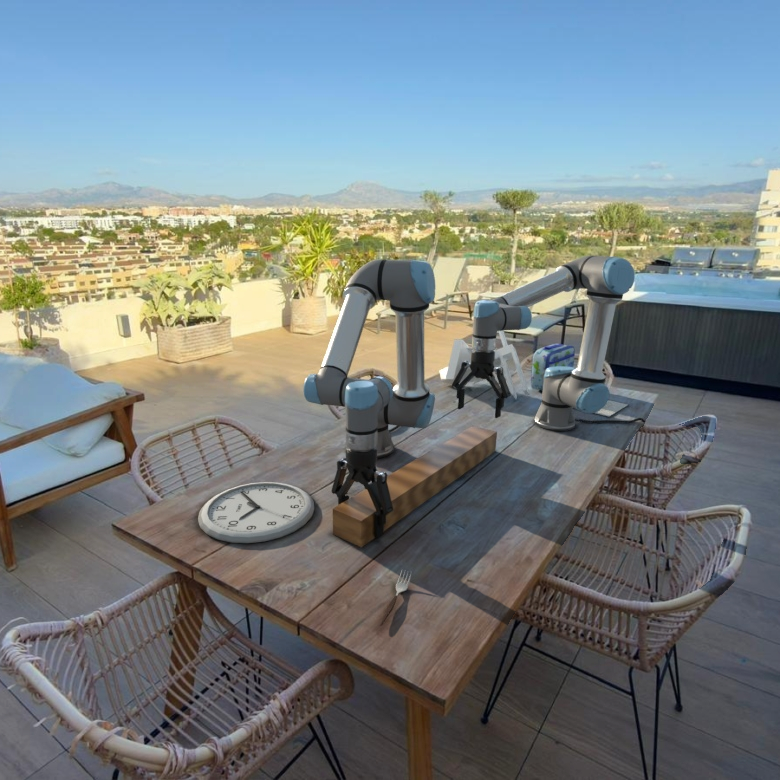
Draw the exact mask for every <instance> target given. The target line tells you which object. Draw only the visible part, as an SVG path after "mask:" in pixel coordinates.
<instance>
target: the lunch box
mask: <svg viewBox="0 0 780 780" xmlns="http://www.w3.org/2000/svg"><path fill="white" fill-rule="evenodd" d="M575 352H576V351H575V346H573V345H568V344H562V343H553V344H550V345H547V346H546V345H545V346H544V347H541V348H538V349H537V350H536V351H535V352H534V354H533V357H532V362H531V371H530V372H531V374H530V387H531V389H533V390H539V391H543V380H544V374H545V370H546V369H547V368H549V367H556V366H566V367H574V363H575Z"/></svg>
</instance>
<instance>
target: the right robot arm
mask: <svg viewBox="0 0 780 780" xmlns="http://www.w3.org/2000/svg"><path fill="white" fill-rule="evenodd" d="M635 278H636V277H635V270H634V267H633V265H632V263H631V262H630V261H628V259H626V258H623V257H617V256H606V255H605V256H603V255H595V254H594V255H593V254H591V255H585V256H582V257H579V258H576V259H573V260H571V261H569V262H566V263H564V264H562V265H560V266H557V268H556V269H555V271H553V272H551V273H549V274H547V275H544V276H542V277H540V278H538V279H536V280H534V281H531V282H529V283H527V284H524V285H522V286H520V287H518V288H516V289H513V290H511V291H509V292H506V293H505V294H502V295H500V296H498V297H495V298H494V299H482V300H478V301H476V302H475V304H474V308H473V314H472V317H473V318H472V320H473V322H472V337H471V347H472V349H473V350H472V351H471V363H469V362H468V361H464V362H462V365H461V369H460V371H459V373H458V374H457V376H456V378H455V380H454V382H453V383H452V384H451V387H452V388H455V389H456V399H458V401H457V410H461V409H463V408H465V397H466V396H465V394H466V388H464V387H465V386H466V385H468V384H469V383H470V382H469V381H470V380H471V379H472V378H473V377H474V376H475V377H476V378H481V379H483V380H486V381H487V382H488V383H489V385H490V386H491V388H492V389H493V391H494V393H495V394H496V396H497V397H496V398H495V409H494V418H495V419H498V418H500V417H501V414H502V409H503V408H504V407H505V399H508V398H510V397H511V396H512V394H511V392H510V390H509V387H508V384H507V380H506V377H505V373H504V370H503V367H502V366H499V367H497V368H495V367H494V360H495V351H494V350H497V349H496V347H497V334H498V332H499V331H504V332H505V331H520V330H526V329H528V328H529V327H530V326H531V324H532V319H533V315H532V314H533V313H532V311H531V309H530V308H529V307H531V306H534V305H536V304H539V303H541V302H543V301H545V300H547V299H549V298H551V297H554V296H556V295H558V294H561V293H562V292H565V293H569V292H572V291H574V290H577V289H578V290H582V289H583V290H585V289H586V294H585V296H586V297H587V299H588V300H589V303H588V308H587V314H586V318H585V324H584V329H583V333H582V338H581V344H580V348H579V355H578V358H577V365H576V367H574V366H573V367H566V366H556V367H549V368H547V369H546V370H545V374H544V380H543V390H541V391H542V392H541V402H540V405H539V407H538V410H537V411H536V413H535V416H534V424H535V425H536V426H537V427H539V428H542V429H544V430H549V431H556V432H567V431H572V430H574V429H575V428H576V422H579V423H586V424H601V423H603V424H605V423H610V424H613V423H614V424H632V423H636V422H639V421H641V422H643V423H646V420H645V419H644V418H642V417H637V418H634V419H631V420H621V419H620V420H616V419H600V420H598V419H597V420H589V419H587V420H586V419H581V418H575V417H576V416H575V413H574V409H575V410H577V411H579V412H581V413H585V414H589V415H590V414H591V415H593V414H596V412H598V411H599V410H601V408H603V407H604V406H605V405H606V403H607V401H608V400H609V399H610V395H611V394H610V389H609V387H608V386H607V385H606V384H605V382H606V379H607V378H606V375H605V374H604V373H603V371H604V365H605V360H606V355H607V350H608V345H609V341H610V336H611V330H612V326H613V322H614V316H615V312H616V308H617V304H618V303H620V302H621V301H622V300H623V297H624V294H626V293H628V292H629V291H630V289H632V287H633V286H634V283H635ZM469 367H470V369H471V371H472V372H471V373H470V374H469V375H468V376H467V377H466V378H465V379H464V380H463V381H462V382H461V383H460V381H461V379H462V377H463V376H464V374H465V372H466V370H467V368H469ZM494 373H495V375H496V376H495V375H494ZM496 378H497V380H496Z"/></svg>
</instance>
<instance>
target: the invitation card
mask: <svg viewBox="0 0 780 780" xmlns="http://www.w3.org/2000/svg"><path fill="white" fill-rule="evenodd" d="M628 406H629V404H627V403H623V402H618V401H614V400H609V399H608V401H607V403H606V405H605V406H604V407H603V408H601V410H599V411H598V412H596V413H595V414H596V415H600V416H604V417H608V418H609V417H611V416H613V415H614V414H616V413H617V412H619V411H621V410H623V409H624V408H626V407H628Z"/></svg>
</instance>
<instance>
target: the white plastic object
mask: <svg viewBox="0 0 780 780" xmlns="http://www.w3.org/2000/svg"><path fill="white" fill-rule="evenodd" d="M498 335H499V338H500V342H501V345H502V347H500V348H498V349H495V350H494V351H495V360H494V367H495V368H500V367H503V374H504V377H505V380H506V383H507V385H508V388H509V391H510V394H511V396H512V397H513V398H514V399H515V400H517V392H516V391H517V390H516V388H515V385H514V381H513V378H512V375H511V371H510V369H509V365H508V361H510V360H513V363H514V366H515V369H516V372H517V376H518V380H519V382H520V385H521V389H522V391H523V393H524V395H525V396H526V397H528V396H531V395H530V390H529V388H528V387H529V386H528V384H527V381H526V378H525V375H524V371H523V369H522V368H523V367H522V366H521V362H520V359H519V355H518V352H517V349H516V347H515V346H514V345H513V343H511V344H508V341H507V337H506V334H505V330H504V331H498ZM472 350H473V349H472V346H469V345H468V343H466V342H465V340H464V339H463V338H460V339H458V338H454V340H453V344H452V349H451V353H450V357H449V362H448V366H446V367H444V368H442V369H440V370H439V371H438V372H439V376H440V381H442V383H443V384H444V385H445V386H449V385H452V383H453V382H454V380H455V378H456V376H457V374H458V373H459V371H460V369H461V365H462V362H464V361H468V362H469V363H471V351H472ZM471 372H472V371H471V369H470V367H469V368H467V370H466V372H465V374H464V376H463V377H462V379H461V381H460V383H461V382H462V381H463V380H464V379H465V378H466V377H467V376H468V375H469V374H470V373H471ZM482 381H484V379H481V378H476V377H475V376H474V377H473V378H472V379H471V380H470V381H469V382H468V383H473V384H477V383H480V382H482ZM460 383H459V384H460Z"/></svg>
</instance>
